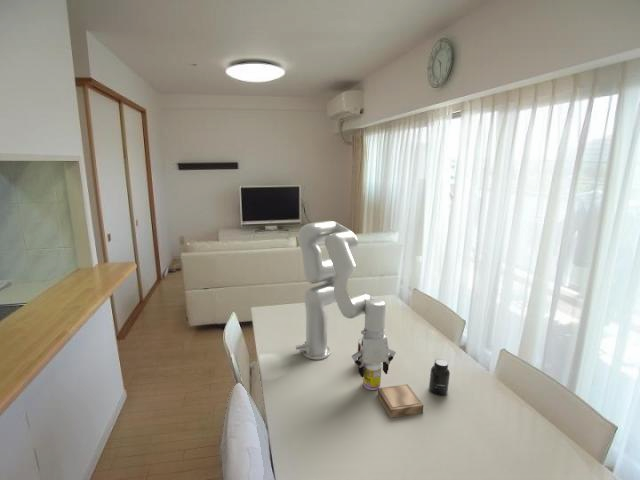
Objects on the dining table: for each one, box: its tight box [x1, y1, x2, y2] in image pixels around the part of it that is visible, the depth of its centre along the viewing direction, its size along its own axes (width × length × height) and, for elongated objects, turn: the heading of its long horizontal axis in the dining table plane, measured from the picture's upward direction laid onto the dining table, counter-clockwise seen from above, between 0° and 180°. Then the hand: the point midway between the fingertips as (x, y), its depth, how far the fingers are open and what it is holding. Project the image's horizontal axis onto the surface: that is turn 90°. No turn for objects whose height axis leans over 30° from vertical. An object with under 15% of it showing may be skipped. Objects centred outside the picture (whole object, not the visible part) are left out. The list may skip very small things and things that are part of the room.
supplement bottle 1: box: [362, 362, 382, 391], centre depth 134 cm, size 7×7×13 cm
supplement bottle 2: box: [428, 358, 451, 396], centre depth 132 cm, size 7×7×12 cm
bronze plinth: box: [376, 384, 424, 419], centre depth 125 cm, size 12×12×3 cm
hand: (373, 373), depth 134 cm, fingers open, 9 cm apart
